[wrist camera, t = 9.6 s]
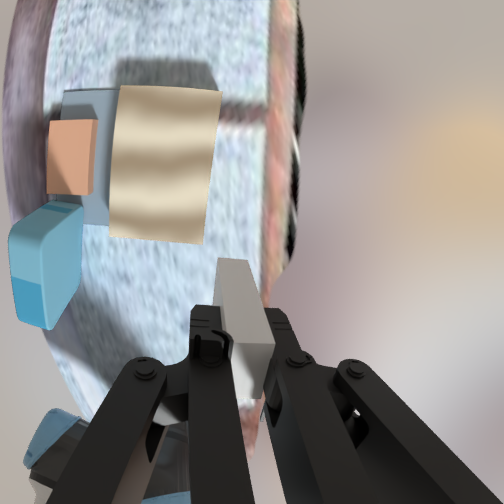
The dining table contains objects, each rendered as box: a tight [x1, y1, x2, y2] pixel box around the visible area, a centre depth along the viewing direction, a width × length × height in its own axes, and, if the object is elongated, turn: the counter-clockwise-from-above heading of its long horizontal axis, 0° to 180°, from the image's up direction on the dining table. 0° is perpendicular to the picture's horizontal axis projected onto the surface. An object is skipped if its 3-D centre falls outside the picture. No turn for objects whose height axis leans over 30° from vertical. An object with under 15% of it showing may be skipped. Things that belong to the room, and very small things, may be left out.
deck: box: [109, 85, 223, 245], centre depth 32 cm, size 17×11×4 cm, turn 171°
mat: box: [56, 90, 120, 226], centre depth 31 cm, size 17×9×1 cm, turn 171°
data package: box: [8, 200, 84, 330], centre depth 29 cm, size 12×4×12 cm, turn 164°
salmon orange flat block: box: [47, 119, 98, 195], centre depth 30 cm, size 9×6×2 cm, turn 171°
